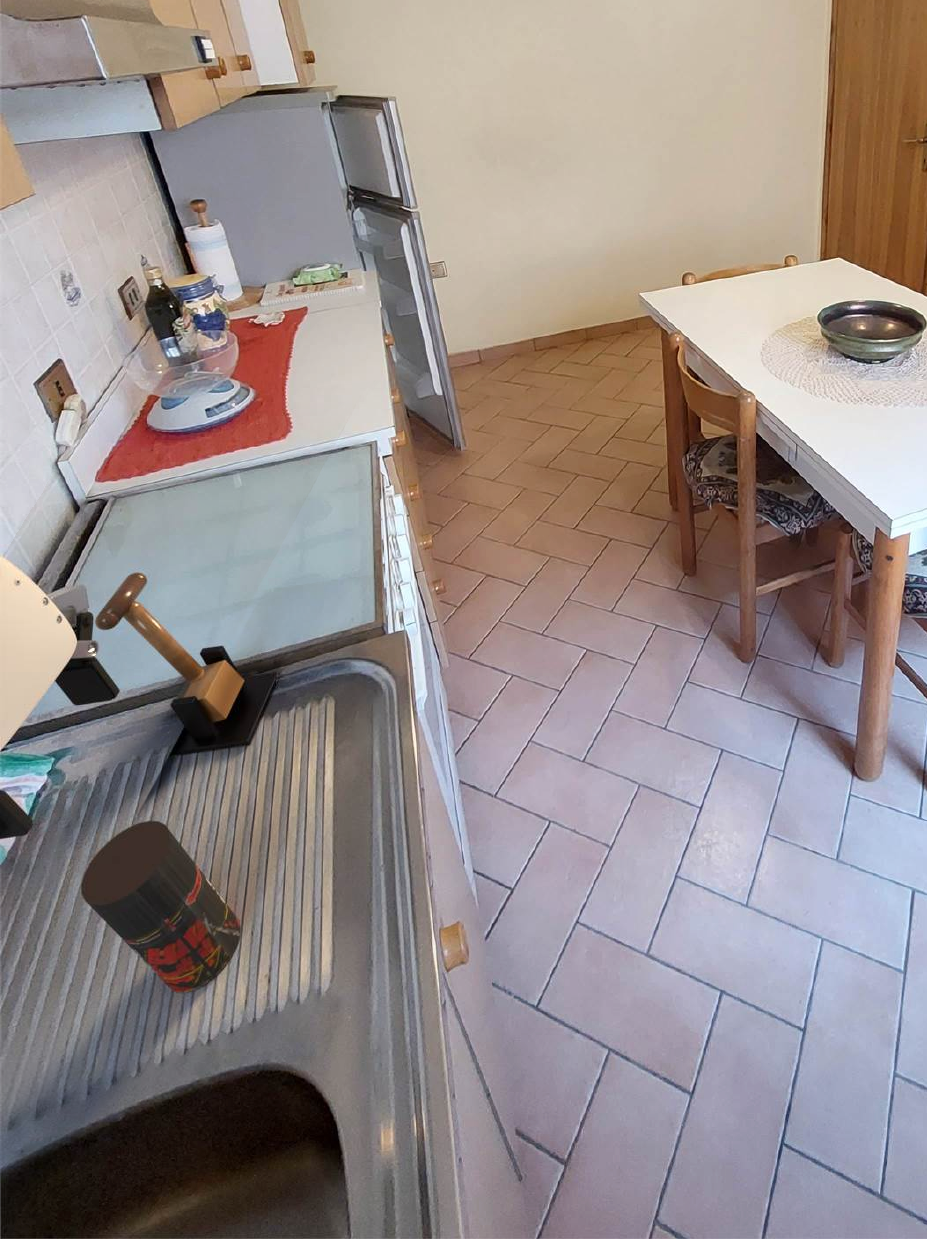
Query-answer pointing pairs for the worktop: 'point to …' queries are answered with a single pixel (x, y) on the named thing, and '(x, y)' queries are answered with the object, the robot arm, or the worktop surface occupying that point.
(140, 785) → the worktop surface
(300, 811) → the worktop surface
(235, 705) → the brush stand
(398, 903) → the worktop surface
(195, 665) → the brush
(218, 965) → the deodorant
